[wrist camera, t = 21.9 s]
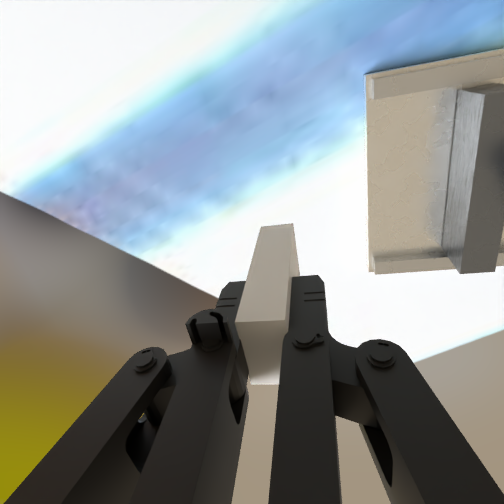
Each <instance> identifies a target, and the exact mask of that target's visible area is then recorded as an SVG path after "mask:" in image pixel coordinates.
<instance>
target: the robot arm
mask: <svg viewBox="0 0 504 504" xmlns="http://www.w3.org/2000/svg"><path fill="white" fill-rule="evenodd" d="M186 327H187V330H188V333H189V335H190V338H191V341H192V347H191V348H190V349H188V350H186V351H183V352H180V353H176V354H173V355H169V356H167V354H166V352H165V351H164V350H163V349H161V348H159V347H150V348H146V349H143V350H141V351H139V352H137V353H136V354H134V355H133V356H132V357H131V358H130V359H129V360H128V361H127V362H126V363H125V364H124V366H123V367H122V368H121V369H120V370H119V371H118V373H117V374H116V375H115V376H114V377H113V378H112V379H111V381H110V382H109V383H108V384H107V385H106V387H105V388H104V389H103V390H102V391H101V392H100V393H99V395H98V396H97V397H96V398H95V399H94V400H93V402H91V404H90V405H89V406H88V407H87V408H86V409H85V411H84V412H83V413H82V414H81V415H80V416H79V417H78V419H77V420H76V421H75V422H74V423H73V424H72V426H71V427H70V428H69V429H68V430H67V431H66V432H65V434H64V435H63V436H62V437H61V438H60V439H59V440H58V442H57V443H56V444H55V445H54V446H53V448H52V449H51V450H50V451H49V452H48V453H47V455H45V457H44V458H43V459H42V460H41V461H40V462H39V464H38V465H37V466H36V467H35V468H34V469H33V470H32V472H31V473H30V474H29V475H28V476H27V477H26V478H25V480H24V481H23V482H22V483H21V484H20V485H19V487H18V488H17V489H16V490H15V491H14V492H13V493H12V495H11V496H10V497H9V498H8V499H7V501H6V502H5V503H4V504H231V502H232V496H233V490H234V484H235V478H236V472H237V466H238V460H239V455H240V449H241V442H242V437H243V431H244V425H245V418H246V412H247V407H248V401H249V395H248V390H247V386H246V385H247V379H248V374H249V378H250V381H251V384H279V390H278V401H277V411H276V424H275V434H274V445H273V457H272V469H271V479H270V490H269V503H268V504H342V496H341V485H340V484H341V483H340V471H339V458H338V444H337V432H336V418H335V416H339V417H342V418H345V419H348V420H351V421H354V422H357V423H359V426H360V429H361V431H362V434H363V436H364V438H365V441H366V443H367V446H368V448H369V451H370V453H371V456H372V458H373V461H374V463H375V465H376V468H377V470H378V473H379V475H380V478H381V480H382V483H383V485H384V488H385V490H386V492H387V495H388V497H389V500H390V502H391V504H504V494H503V493H502V491H501V490H500V488H499V487H498V485H497V484H496V483H495V481H494V480H493V478H492V477H491V475H490V474H489V473H488V471H487V470H486V468H485V467H484V465H483V464H482V462H481V461H480V459H479V458H478V456H477V455H476V454H475V452H474V451H473V449H472V448H471V446H470V445H469V443H468V442H467V441H466V439H465V437H464V436H463V435H462V433H461V432H460V430H459V429H458V427H457V426H456V424H455V423H454V421H453V420H452V419H451V417H450V416H449V414H448V413H447V411H446V410H445V408H444V407H443V406H442V404H441V403H440V401H439V400H438V398H437V397H436V396H435V394H434V393H433V391H432V389H431V388H430V387H429V385H428V384H427V382H426V381H425V379H424V378H423V376H422V375H421V373H420V372H419V371H418V369H417V368H416V366H415V365H414V363H413V362H412V360H411V359H410V357H409V356H408V355H407V353H406V352H405V351H404V350H403V349H402V348H401V347H400V346H399V345H397V344H395V343H393V342H391V341H386V340H381V339H377V340H369V341H367V342H364V343H362V344H361V345H360V346H359V347H358V348H355V347H350V346H347V345H344V344H341V343H339V342H338V341H336V340H335V339H334V338H332V336H331V335H330V333H329V331H328V320H327V308H326V298H325V287H324V282H323V281H322V279H321V278H320V277H319V276H318V275H311V276H300V272H299V264H298V257H297V249H296V242H295V234H294V227H293V224H283V225H274V226H264V227H261V228H260V232H259V236H258V239H257V243H256V247H255V250H254V254H253V258H252V261H251V265H250V269H249V272H248V276H247V279H246V281H239V282H229V283H228V284H227V285H226V286H225V287H224V288H223V289H222V291H221V294H220V296H219V300H218V302H217V305H216V308H215V309H208V310H203V311H201V312H199V313H196V314H195V315H193V316H192V317H191V318H189V320H188V321H187V323H186ZM143 413H144V415H143V416H142V414H143ZM141 416H142V417H141ZM140 417H141V418H140ZM139 418H140V419H139Z"/></svg>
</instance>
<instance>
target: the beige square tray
mask: <svg viewBox="0 0 504 504" xmlns="http://www.w3.org/2000/svg"><path fill="white" fill-rule="evenodd" d="M363 83H364V137H365V190H366V243H367V267H368V271H369V272H374V273H375V274H389V273H404V272H418V271H433V270H448V269H456V268H455V266H454V265H453V264H452V262H451V261H450V259H449V258H448V257H447V255H446V254H445V252H444V251H443V250H442V244H443V234H444V225H445V215H446V205H447V196H448V186H449V177H450V167H451V157H452V148H453V138H454V128H455V119H456V109H457V100H458V90H460V89H466V88H472V87H478V86H483V85H489V84H495V83H500V84H504V48H500V49H495V50H490V51H485V52H479V53H474V54H469V55H464V56H458V57H453V58H448V59H443V60H437V61H432V62H427V63H422V64H416V65H411V66H406V67H401V68H395V69H390V70H385V71H380V72H374V73H369V74H364V75H363ZM496 266H504V227H503V232H502V238H501V243H500V248H499V253H498V258H497V263H496Z"/></svg>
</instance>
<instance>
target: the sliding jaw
mask: <svg viewBox="0 0 504 504" xmlns="http://www.w3.org/2000/svg"><path fill="white" fill-rule="evenodd" d="M503 227H504V84H500V83H495V84H489V85H483V86H478V87H472V88H466V89H460V90H458V100H457V109H456V119H455V128H454V138H453V148H452V157H451V167H450V177H449V186H448V196H447V205H446V215H445V225H444V234H443V244H442V250H443V251H444V252H445V254H446V255H447V257H448V258H449V259H450V261H451V262H452V264H453V265H454V266H455V268H456V269H457V271H458V272H459V273H460V274H467V273H482V272H495V268H496V263H497V258H498V253H499V248H500V243H501V238H502V232H503Z"/></svg>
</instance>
